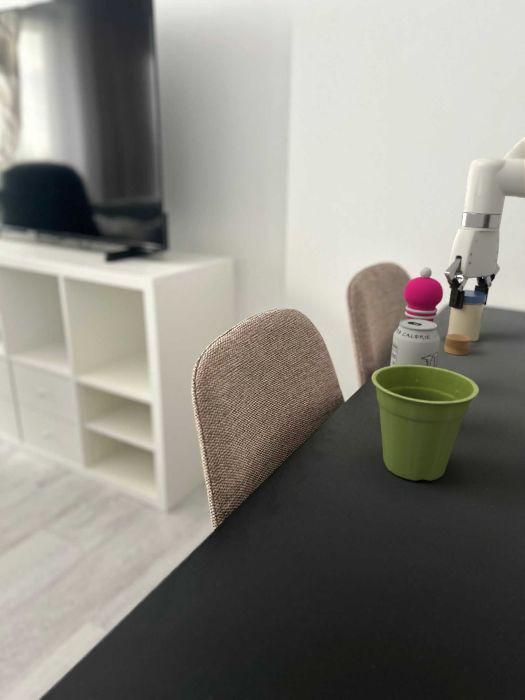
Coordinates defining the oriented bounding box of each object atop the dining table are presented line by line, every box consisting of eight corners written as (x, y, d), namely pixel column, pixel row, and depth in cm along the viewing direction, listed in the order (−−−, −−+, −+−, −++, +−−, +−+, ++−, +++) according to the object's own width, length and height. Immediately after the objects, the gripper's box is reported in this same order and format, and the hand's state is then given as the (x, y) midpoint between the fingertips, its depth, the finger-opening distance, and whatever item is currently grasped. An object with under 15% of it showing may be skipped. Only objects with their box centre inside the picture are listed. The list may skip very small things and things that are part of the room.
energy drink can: (416, 439, 69) (430, 333, 64) (376, 425, 73) (386, 323, 68) (434, 424, 74) (449, 323, 69) (395, 411, 77) (407, 315, 72)
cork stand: (463, 347, 107) (465, 334, 106) (472, 355, 102) (474, 341, 101) (440, 347, 107) (442, 333, 106) (448, 355, 102) (450, 340, 101)
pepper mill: (381, 383, 87) (394, 266, 81) (404, 373, 92) (417, 262, 86) (420, 396, 83) (436, 273, 76) (441, 385, 87) (458, 268, 81)
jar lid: (445, 296, 114) (446, 289, 113) (474, 295, 115) (475, 289, 114) (462, 304, 107) (463, 297, 107) (492, 303, 108) (493, 296, 108)
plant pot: (463, 452, 66) (477, 371, 63) (464, 504, 56) (481, 410, 52) (371, 435, 70) (379, 358, 66) (355, 481, 59) (364, 392, 56)
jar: (471, 332, 117) (478, 293, 114) (483, 341, 111) (490, 300, 108) (443, 332, 117) (448, 292, 114) (453, 341, 111) (459, 299, 108)
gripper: (492, 219, 113) (479, 298, 119) (436, 221, 105) (425, 306, 111) (523, 222, 107) (508, 306, 113) (466, 225, 99) (453, 314, 104)
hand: (467, 305), depth 112 cm, fingers closed on jar lid, 6 cm apart
